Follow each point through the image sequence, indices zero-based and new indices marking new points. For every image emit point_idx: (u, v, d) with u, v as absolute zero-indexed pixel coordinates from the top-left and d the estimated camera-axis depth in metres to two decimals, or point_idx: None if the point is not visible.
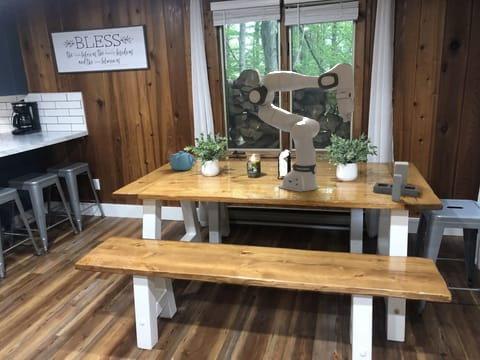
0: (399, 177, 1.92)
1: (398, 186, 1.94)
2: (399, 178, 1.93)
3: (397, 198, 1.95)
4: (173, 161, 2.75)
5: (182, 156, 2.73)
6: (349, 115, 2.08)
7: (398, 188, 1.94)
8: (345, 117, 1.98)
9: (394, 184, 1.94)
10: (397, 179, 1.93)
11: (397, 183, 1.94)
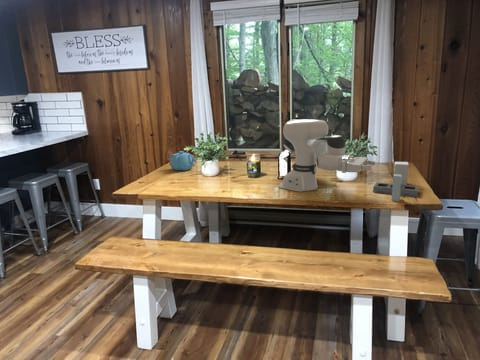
0: (399, 177, 1.92)
1: (398, 186, 1.94)
2: (399, 178, 1.93)
3: (397, 198, 1.95)
4: (173, 161, 2.75)
5: (182, 156, 2.73)
6: (369, 162, 2.05)
7: (398, 188, 1.94)
8: (366, 166, 1.95)
9: (394, 184, 1.94)
10: (397, 179, 1.93)
11: (397, 183, 1.94)
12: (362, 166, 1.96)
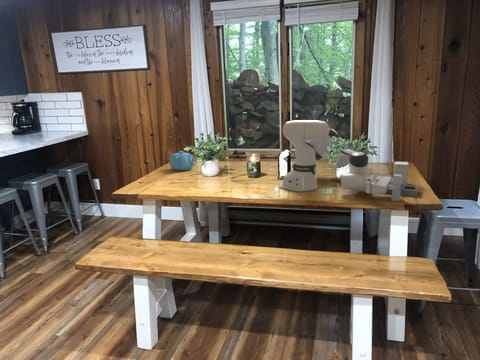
0: (399, 177, 1.92)
1: (398, 186, 1.94)
2: (399, 178, 1.93)
3: (397, 198, 1.95)
4: (173, 161, 2.75)
5: (182, 156, 2.73)
6: None
7: (398, 188, 1.94)
8: (392, 186, 1.93)
9: (394, 184, 1.94)
10: (397, 179, 1.93)
11: (397, 183, 1.94)
12: (388, 186, 1.94)
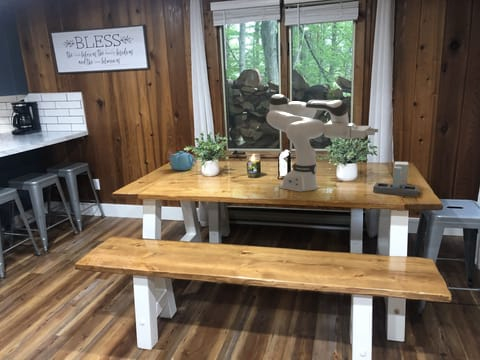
0: (399, 169, 2.05)
1: (398, 178, 2.06)
2: (399, 170, 2.05)
3: None
4: (173, 161, 2.75)
5: (182, 156, 2.73)
6: (372, 130, 2.15)
7: (398, 179, 2.07)
8: (369, 132, 2.06)
9: (394, 176, 2.07)
10: (397, 171, 2.06)
11: (397, 175, 2.06)
12: (366, 132, 2.06)
